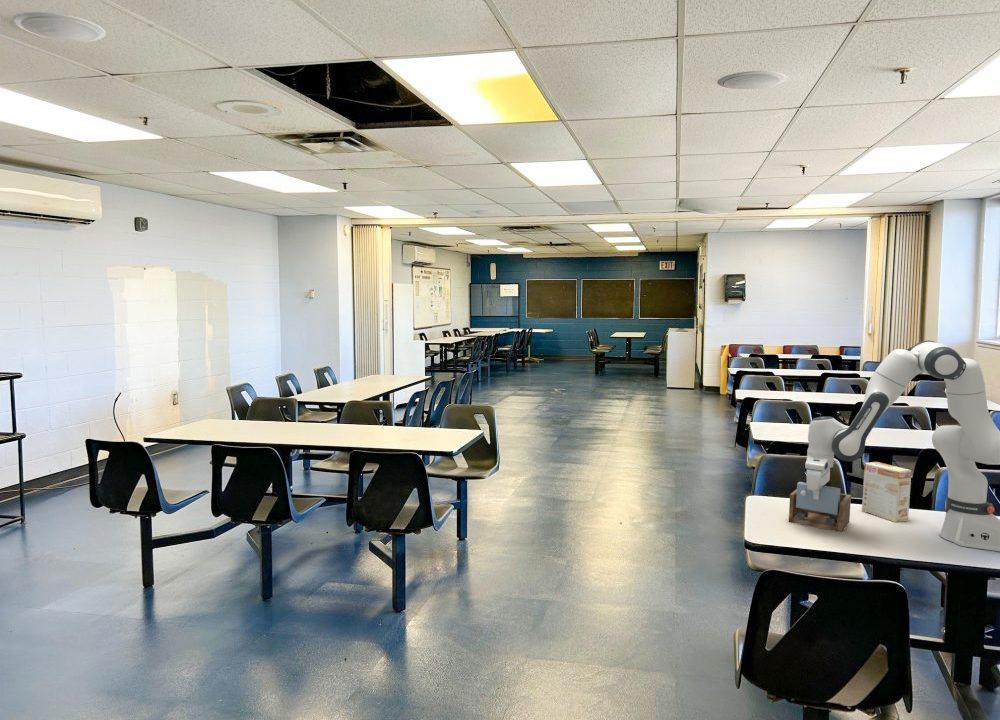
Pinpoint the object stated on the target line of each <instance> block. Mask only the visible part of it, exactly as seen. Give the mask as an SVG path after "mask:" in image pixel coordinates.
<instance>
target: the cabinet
mask: <svg viewBox="0 0 1000 720" xmlns="http://www.w3.org/2000/svg"><path fill="white" fill-rule="evenodd" d="M796 497H797V488H796V489H795V490H793V491H792V492H791V493H789V505H788V506H789V509H788V510H789V511H788V523H793V524H798V525H802V526H808V527H813V528H819V529H823V530H828V529H829V530H828V531H833V530H834V531H833V532H838V531H840V532H839V533H842V532H843V531H844V530H845V529H846V528H847V526H848V525H849V524H850V517H851V516H850V515H851V499H852V494H848V493H847V494H846V493H841V492H840V506H839V513H838V515H836V514H830V513H824V512H819V511H813V510H808V509H802V508H797V507H796ZM848 523H849V524H848ZM847 524H848V525H847ZM845 527H846V528H845ZM844 528H845V529H844Z"/></svg>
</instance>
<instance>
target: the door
mask: <svg viewBox="0 0 1000 720" xmlns="http://www.w3.org/2000/svg"><path fill="white" fill-rule="evenodd" d="M796 489H797V497H796V507H797V508H802V509H808V510H813V511H819V512H824V513H830V514H836V515H838V513H839V506H840V493H841V488H840V487H835V486H830V485H829V486H823V487H822V488H820V491H819V494H820V498H819V499H818V500H815V499H814V498H813V495H814V494H813V491H812V490H808V489H807V482H803V481H798V482H797V483H796Z"/></svg>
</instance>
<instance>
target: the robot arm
mask: <svg viewBox="0 0 1000 720" xmlns="http://www.w3.org/2000/svg"><path fill="white" fill-rule="evenodd" d="M922 373H924V374H927V375H929V376H931V377H934V378H936V379H940V380H941V379H944V383H945V390H946V392H945V393H946V401H947V410H948V413H949V415H950V416H951V418H952V419H955V420H956V421H957V422H958V423H959V425H956V424H955V425H954V424H952V425H951V424H950V425H949V424H948V425H947V424H945V425H940V426H938V427H937V428H936V429H934V431H933V433H932V436H931V443H932V446H933V448H934V449H935V450H936V451H937V452H938V453H939V455H940V456H941V458H942V459H943V461H944V465H945V466H946V469H947V473H948V474H947V476H948V485H947V486H948V487H947V489H948V490H947V492H948V493H947V496H946V498H945V503H944V504H945V505H944V509H945V516H944V520H943V525H942V527H941V529H940V532H939V536H940V537H941V538H942V539H944V540H946V541H949V542H951V543H954V544H956V545H958V546H961V547H966V548H973V549H981V550H985V551H994V552H1000V519H999V518H998V517H997V516H996V515H995V514H993V513H995V507H994V505H993V503H989V501H987V498H988V497H987V495H988V487H989V486H988V485H989V484H988V479H987V477H986V476H985V474H983V473H982V472H981V470H979V468H978V466H977V465H976V463H980V464H985V465H998V466H999V465H1000V430H999V428H998V427H997V425H996V424H995V422H994V420H993V419H992V417H991V415H990V411H989V407H988V402H987V401H988V400H987V393H986V385H985V380H984V379H985V378H984V375H983V372H982V368H981V365H980V364H979V362H978V361H977V360H975V359H972V358H968V357H961V355H960V354H959V352H958V351H956V349H953V348H952V347H949V346H948V345H946V344H945V343H940V342H937V341H933V340H921V341H919V342H918V343H915V344H914V345H913V346H911V347H909V348H908V349H905V348H904V349H903V348H895V349H893V350H892V351H890V352H889V354H888V355H886V357H884V358H883V360H882V361H881V362H880V364H879V365H878V366H877V368H876V369H875V371H874V372H873V373H872V375H871V377H870V379H869V380H868V384H867V386H866V388H865V392H864V393H865V394H864V399H863V402H862V406H861V407H860V410H859V411H858V413H857V414H856V415H855V418H854V419H853V420H852V422H851V424H850V425H849V426H848V425H845V424H843V423H842V422H839V421H838V420H836V419H835V418H834V417H833V416H826V415H825V416H818V417H814V418H813V419H811V421H810V422H809V427H808V433H807V442H808V448H807V449H806V450H807V451H806V452H807V454H806V461H805V463H804V468H805V469H806V476H805V477H806V483H807V489H808V490H812V491H813V494H814V495H813V498H814V499H815V500H818V499H819V498H820V494H819V491H820V488H822V487H823V486H824V485H825V484H826V483H827V482H828V481H829V480H831V479H830V477H831V468H833V467H834V461H835V456H836V458H838V459H839V460H841V461H844V462H854V461H858V460H859V459H860V458H862V457H863V455H864V452H865V449H866V441H867V439H868V436H869V435H870V433H871V432H872V430H873V429H874V427H875V425H876V424H877V422H878V421H879V419H880V418H881V416H882V415H883V414H884V413H885V412H886V411H887V410H888V409H889V408H890V407H891V406H892V405H893V404H894V403H895V402H896V401H897V400H898V399H899V398H900V397H901V395H902V394H903V393H904V392H905V391H906V389H907V387H908V386H909V385H910V383H911V381H912V380H913V379H914V378H916V376H918V375H919V374H922Z"/></svg>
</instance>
